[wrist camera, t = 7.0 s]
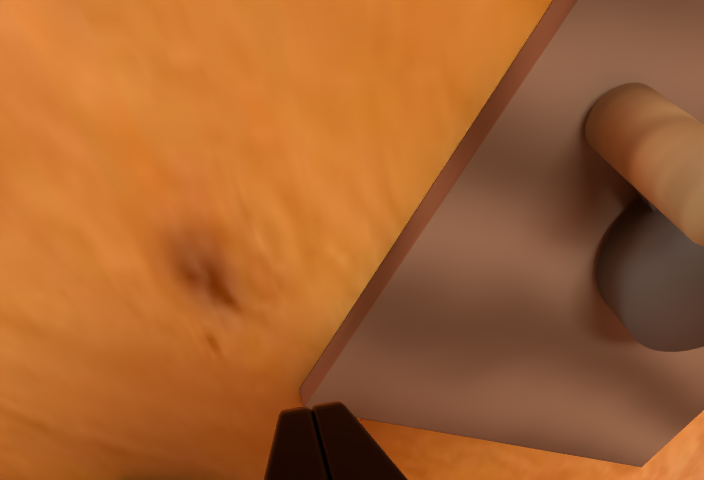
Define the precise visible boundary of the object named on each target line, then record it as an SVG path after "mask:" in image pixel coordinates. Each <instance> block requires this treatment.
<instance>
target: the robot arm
mask: <svg viewBox="0 0 704 480" xmlns="http://www.w3.org/2000/svg"><path fill="white" fill-rule="evenodd" d="M264 480H407V478H406V477H405V476H404V475H403V474H402V473H401V471H400V470H399V469H398V468H397V467H396V465H395V464H394V463H393V462H392V461H391V459H390V458H389V457H388V456H387V455H386V453H385V452H384V451H383V450H382V449H381V447H380V446H379V445H378V444H377V443H376V441H375V440H374V439H373V438H372V437H371V436H370V434H369V433H368V432H367V431H366V430H365V428H364V427H363V426H362V425H361V424H360V422H359V421H358V420H357V419H356V418H355V416H354V415H353V414H352V413H351V412H350V410H349V409H348V408H347V407H346V406H345V405H344V404H343V403H342V402H339V401H334V402H328V403H322V404H316V405H314V406H313V407H312V409H310V408H309V407H305V406H304V407H298V408H292V409H286V410H283V411H281V413H280V414H279V417H278V421H277V425H276V430H275V434H274V438H273V442H272V447H271V451H270V455H269V460H268V464H267V468H266V473H265V477H264Z"/></svg>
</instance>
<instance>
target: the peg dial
mask: <svg viewBox="0 0 704 480" xmlns="http://www.w3.org/2000/svg"><path fill="white" fill-rule="evenodd" d="M585 135H586V139H587V142H588V144H589V145H590V146H591V147H592V148H593V149H594V150H595V151H596V152H597V153H598V154H599V155H600V156H601V157H602V158H603V159H604V160H605V161H607V162H608V163H609V164H610V165H611V166H612V167H613V168H614V169H615V170H616V171H617V172H618V173H619V174H621V175H622V176H623V177H624V178H625V179H626V180H627V181H628V182H629V183H630V184H631V185H632V186H633V187H635V188H636V189H637V191H638V193H639V195H640V197H641V199H642V200H640V201H639V202H638V203H637V204H636V205H635V206H634V207H633V208H632V209H631V210H630V211H629V212H628V213H627V214H626V215H625V216H624V217H623V218H622V219H621V221H620V222H619V223H618V224H617V226H616V227H615V228H614V230H613V231H612V233H611V234H610V236H609V238H608V239H607V241H606V243H605V245H604V247H603V250H602V252H601V255H600V257H599V261H598V265H597V273H596V279H597V287H598V290H599V293H600V295H601V297H602V299H603V300H604V301H605V303H606V304H607V305H608V306H609V308H610V309H611V310H612V311H613V313H614V314H615V315H616V316H617V318H618V319H619V320H620V321H621V323H622V324H623V325H624V326H625V328H626V329H627V330H628V331H629V333H630V334H631V335H632V336H633V338H634V339H635V340H636V341H637V342H639V343H640V344H641V345H643V346H645V347H647V348H649V349H652V350H656V351H662V352H680V351H688V350H692V349H697V348H700V347H704V124H703V123H701V122H700V121H698V120H697V119H695V118H694V117H692V116H691V115H690V114H688V113H687V112H685V111H684V110H682V109H681V108H679V107H678V106H677V105H675V104H674V103H672V102H671V101H669V100H668V99H666V98H665V97H664V96H662V95H661V94H659V93H658V92H656V91H655V90H653V89H652V88H651V87H649V86H647V85H645V84H643V83H637V82H633V83H626V84H623V85H620V86H618V87H616V88H614V89H612V90H611V91H609V92H608V93H606V94H605V95H604V96H603V97H602V98H601V99H600V100H599V101H598V102H597V103H596V104H595V106H594V107H593V109H592V110H591V112H590V114H589V116H588V119H587V122H586V127H585Z"/></svg>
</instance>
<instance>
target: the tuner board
mask: <svg viewBox="0 0 704 480" xmlns="http://www.w3.org/2000/svg"><path fill="white" fill-rule="evenodd" d="M633 82H637V83H643V84H645V85H647V86H649V87H651V88H652V89H653V90H655V91H656V92H658V93H659V94H661V95H662V96H664V97H665V98H666V99H668V100H669V101H671V102H672V103H674V104H675V105H677V106H678V107H679V108H681V109H682V110H684V111H685V112H687V113H688V114H690V115H691V116H692V117H694V118H695V119H697V120H698V121H700V122H701V123H703V124H704V0H554V1H553V2H552V4H551V5H550V7H549V8H548V10H547V11H546V13H545V14H544V16H543V17H542V19H541V20H540V22H539V23H538V25H537V27H536V28H535V30H534V31H533V33H532V34H531V36H530V37H529V39H528V40H527V42H526V43H525V45H524V46H523V48H522V49H521V51H520V53H519V54H518V56H517V57H516V59H515V60H514V62H513V63H512V65H511V66H510V68H509V69H508V71H507V72H506V74H505V75H504V77H503V79H502V80H501V82H500V83H499V85H498V86H497V88H496V89H495V91H494V92H493V94H492V95H491V97H490V98H489V100H488V101H487V103H486V105H485V106H484V108H483V109H482V111H481V112H480V114H479V115H478V117H477V118H476V120H475V121H474V123H473V124H472V126H471V127H470V129H469V131H468V132H467V134H466V135H465V137H464V138H463V140H462V141H461V143H460V144H459V146H458V147H457V149H456V150H455V152H454V154H453V155H452V157H451V158H450V160H449V161H448V163H447V164H446V166H445V167H444V169H443V170H442V172H441V173H440V175H439V176H438V178H437V180H436V181H435V183H434V184H433V186H432V187H431V189H430V190H429V192H428V193H427V195H426V196H425V198H424V199H423V201H422V202H421V204H420V206H419V207H418V209H417V210H416V212H415V213H414V215H413V216H412V218H411V219H410V221H409V222H408V224H407V225H406V227H405V228H404V230H403V232H402V233H401V235H400V236H399V238H398V239H397V241H396V242H395V244H394V245H393V247H392V248H391V250H390V251H389V253H388V254H387V256H386V258H385V259H384V261H383V262H382V264H381V265H380V267H379V268H378V270H377V271H376V273H375V274H374V276H373V277H372V279H371V280H370V282H369V284H368V285H367V287H366V288H365V290H364V291H363V293H362V294H361V296H360V297H359V299H358V300H357V302H356V303H355V305H354V306H353V308H352V310H351V311H350V313H349V314H348V316H347V317H346V319H345V320H344V322H343V323H342V325H341V326H340V328H339V329H338V331H337V332H336V334H335V336H334V337H333V339H332V340H331V342H330V343H329V345H328V346H327V348H326V349H325V351H324V352H323V354H322V355H321V357H320V358H319V360H318V362H317V363H316V365H315V366H314V368H313V369H312V371H311V372H310V374H309V375H308V377H307V378H306V380H305V381H304V383H303V385H302V386H301V388H300V393H301V398H302V403H303V407H304V406H305V407H309V408H310V409H312V407H313V406H314V405H316V404H322V403H328V402H334V401H339V402H342V403H343V404H344V405H345V406H346V407H347V408H348V409H349V410H350V412H351V413H352V414H353V415H354V416H355V418H361V419H367V420H373V421H378V422H384V423H390V424H396V425H401V426H407V427H413V428H419V429H424V430H430V431H436V432H442V433H447V434H453V435H459V436H465V437H470V438H476V439H482V440H488V441H494V442H499V443H505V444H511V445H517V446H522V447H528V448H534V449H540V450H545V451H551V452H557V453H563V454H568V455H574V456H580V457H586V458H591V459H597V460H603V461H609V462H614V463H620V464H626V465H632V466H638V467H642V466H643V465H644V464H645V463H647V462H648V461H649V460H650V459H651V458H652V457H653V456H654V455H655V454H656V453H657V452H658V451H660V450H661V449H662V448H663V447H664V446H665V445H666V444H667V443H668V442H669V441H670V440H672V439H673V438H674V437H675V436H676V435H677V434H678V433H679V432H680V431H681V430H682V429H683V428H685V427H686V426H687V425H688V424H689V423H690V422H691V421H692V420H693V419H694V418H695V417H697V416H698V415H699V414H700V413H701V412H702V411H703V410H704V347H700V348H697V349H692V350H688V351H680V352H662V351H656V350H652V349H649V348H647V347H645V346H643V345H641V344H640V343H639V342H637V341H636V340H635V339H634V338H633V336H632V335H631V334H630V333H629V331H628V330H627V329H626V328H625V326H624V325H623V324H622V323H621V321H620V320H619V319H618V318H617V316H616V315H615V314H614V313H613V311H612V310H611V309H610V308H609V306H608V305H607V304H606V303H605V301H604V300H603V299H602V297H601V295H600V293H599V290H598V287H597V279H596V273H597V265H598V261H599V257H600V255H601V252H602V250H603V247H604V245H605V243H606V241H607V239H608V238H609V236H610V234H611V233H612V231H613V230H614V228H615V227H616V226H617V224H618V223H619V222H620V221H621V219H622V218H623V217H624V216H625V215H626V214H627V213H628V212H629V211H630V210H631V209H632V208H633V207H634V206H635V205H636V204H637V203H638V202H639V201H640V200H642V199H641V197H640V195H639V193H638V191H637V189H636V188H635V187H633V186H632V185H631V184H630V183H629V182H628V181H627V180H626V179H625V178H624V177H623V176H622V175H621V174H619V173H618V172H617V171H616V170H615V169H614V168H613V167H612V166H611V165H610V164H609V163H608V162H607V161H605V160H604V159H603V158H602V157H601V156H600V155H599V154H598V153H597V152H596V151H595V150H594V149H593V148H592V147H591V146H590V145H589V144H588V142H587V139H586V135H585V127H586V122H587V119H588V116H589V114H590V112H591V110H592V109H593V107H594V106H595V104H596V103H597V102H598V101H599V100H600V99H601V98H602V97H603V96H604V95H605V94H606V93H608V92H609V91H611V90H612V89H614V88H616V87H618V86H620V85H623V84H626V83H633Z"/></svg>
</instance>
